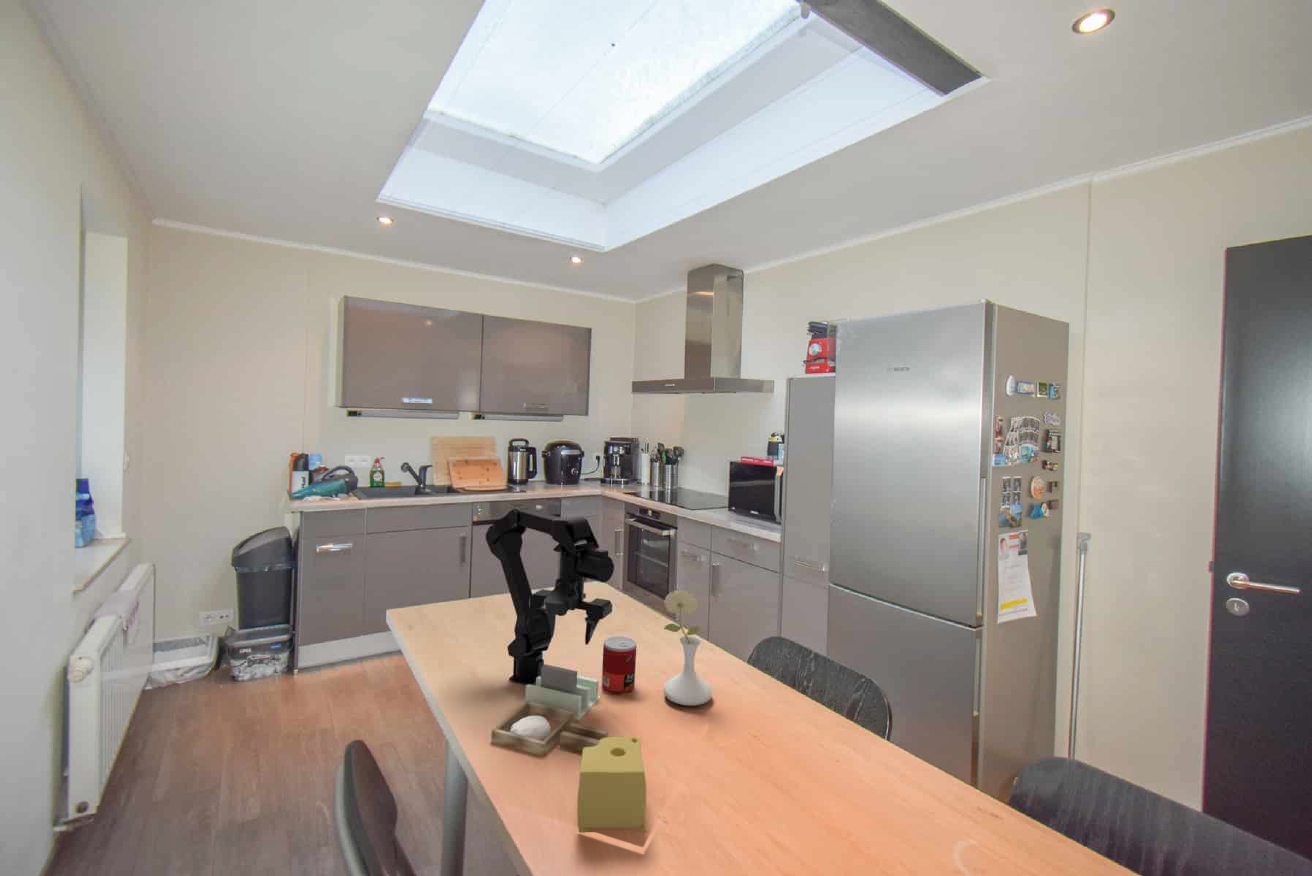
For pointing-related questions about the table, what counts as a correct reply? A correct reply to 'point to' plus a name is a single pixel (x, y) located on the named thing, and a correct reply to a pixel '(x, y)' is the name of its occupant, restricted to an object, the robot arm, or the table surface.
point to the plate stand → (580, 738)
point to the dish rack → (566, 696)
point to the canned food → (619, 665)
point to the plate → (559, 679)
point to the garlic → (532, 727)
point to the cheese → (612, 785)
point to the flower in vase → (686, 656)
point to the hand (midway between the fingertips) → (569, 640)
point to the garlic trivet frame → (530, 744)
